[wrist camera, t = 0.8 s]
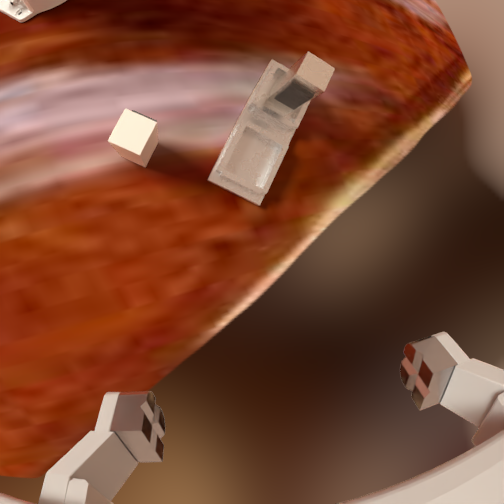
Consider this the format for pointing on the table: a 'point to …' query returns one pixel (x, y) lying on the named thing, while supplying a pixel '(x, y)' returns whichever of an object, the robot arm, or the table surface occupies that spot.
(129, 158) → the loose rectangular block
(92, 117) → the table surface
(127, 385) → the table surface
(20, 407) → the table surface
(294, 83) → the pillar on stepped tray
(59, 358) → the table surface
